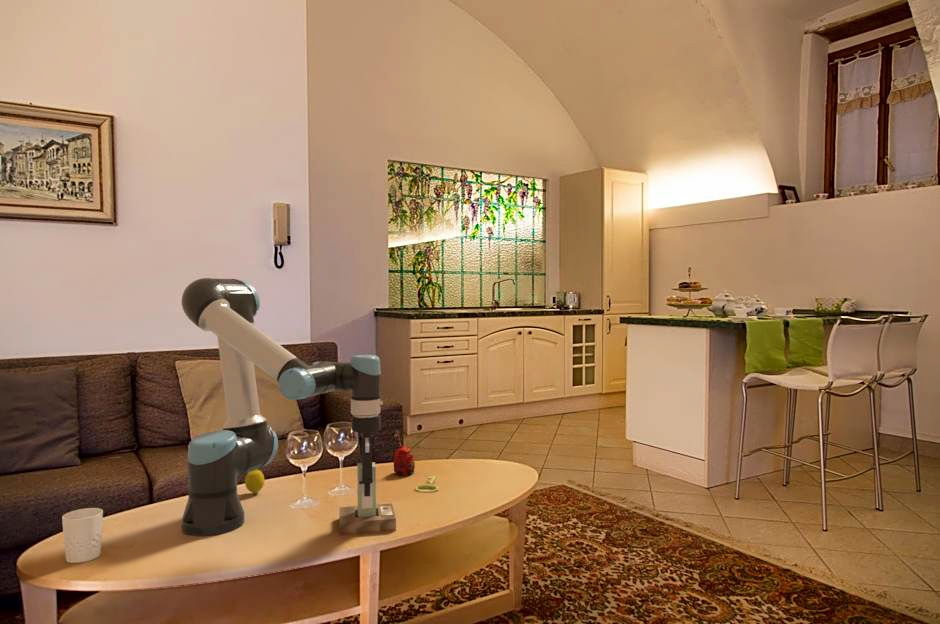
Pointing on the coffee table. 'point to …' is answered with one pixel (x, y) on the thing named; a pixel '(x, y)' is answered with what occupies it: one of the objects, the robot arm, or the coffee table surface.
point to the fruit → (254, 481)
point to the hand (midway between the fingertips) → (366, 504)
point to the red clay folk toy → (403, 460)
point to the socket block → (366, 520)
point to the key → (428, 486)
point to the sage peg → (367, 511)
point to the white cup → (82, 534)
